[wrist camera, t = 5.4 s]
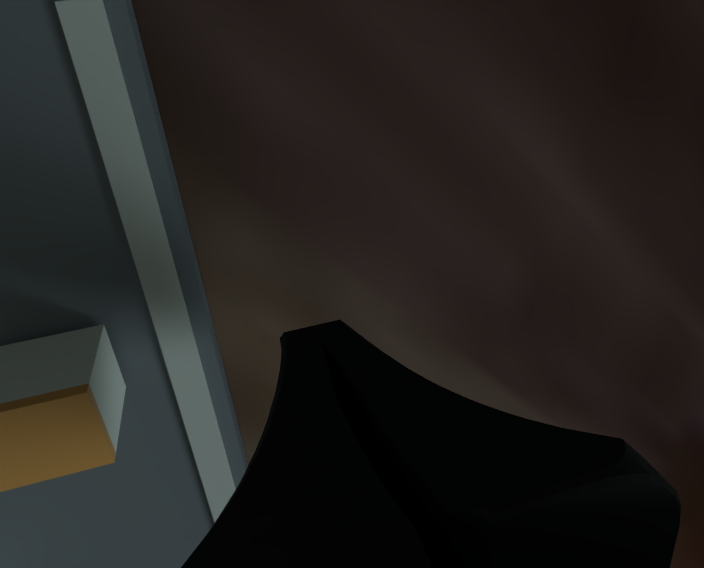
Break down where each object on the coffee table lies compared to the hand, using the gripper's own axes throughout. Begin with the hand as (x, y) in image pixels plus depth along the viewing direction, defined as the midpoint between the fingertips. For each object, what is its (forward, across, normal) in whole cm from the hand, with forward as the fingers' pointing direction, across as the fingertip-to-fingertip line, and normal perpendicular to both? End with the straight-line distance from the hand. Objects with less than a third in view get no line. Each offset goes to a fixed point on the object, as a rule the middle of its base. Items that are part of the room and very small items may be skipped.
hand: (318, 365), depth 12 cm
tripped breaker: (+3, +6, 0) cm, 6 cm away
